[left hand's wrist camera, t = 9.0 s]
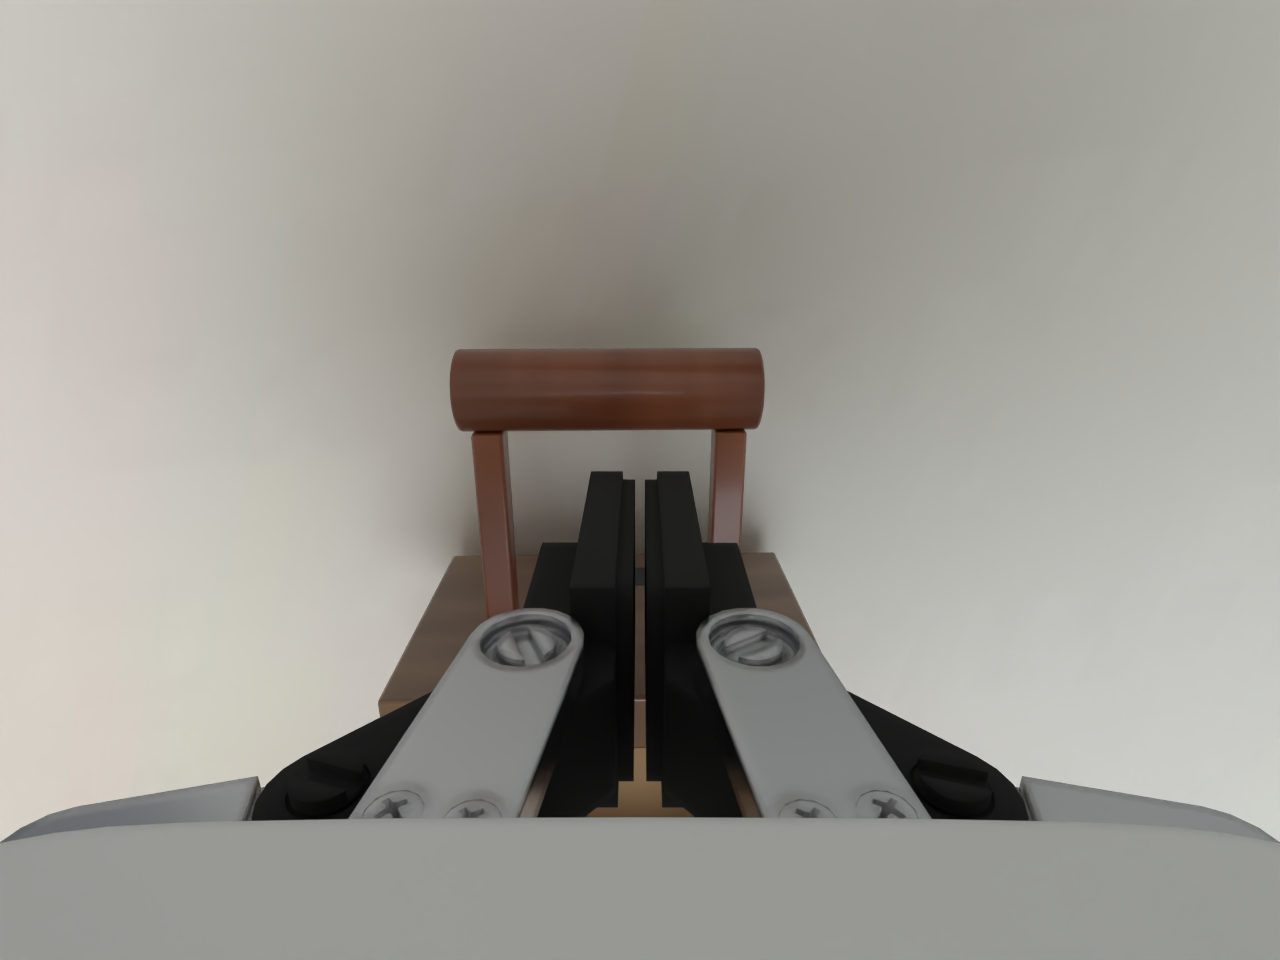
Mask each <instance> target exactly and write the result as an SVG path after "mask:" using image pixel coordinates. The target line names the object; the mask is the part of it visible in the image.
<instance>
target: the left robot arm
mask: <svg viewBox="0 0 1280 960" xmlns="http://www.w3.org/2000/svg"><path fill="white" fill-rule="evenodd" d="M634 712H635V480H623V471H591V475H590V481H589V486H588V491H587V497H586V502H585V507H584V513H583V518H582V523H581V529H580V534H579V539H578V543H543V544H542V546H541V549H540V553H539V556H538V559H537V563H536V566H535V569H534V573H533V576H532V580H531V583H530V586H529V590H528V593H527V597H526V600H525V603H524V607H523V609H517V610H511V611H507V612H504V613H501V614H499V615H496V616H493V617H491V618H490V619H488V620H486V621H485V622H483V623H481V624H480V625H479V626H478V627H477V628H476V629H475V630H474V631H473V632H472V633H471V635H470V636H469V638H468V639H467V641H466V642H465V644H464V645H463V647H462V648H461V650H460V651H459V653H458V654H457V656H456V657H455V659H454V660H453V662H452V663H451V665H450V666H449V668H448V669H447V671H446V672H445V674H444V675H443V677H442V678H441V680H440V681H439V683H438V684H437V686H436V687H435V689H434V690H433V691H432V692H430V693H428V694H426V695H424V696H422V697H420V698H418V699H416V700H414V701H412V702H410V703H408V704H406V705H404V706H402V707H400V708H398V709H396V710H394V711H392V712H390V713H388V714H386V715H384V716H382V717H380V718H378V719H376V720H374V721H372V722H371V723H369V724H367V725H365V726H363V727H361V728H359V729H357V730H355V731H353V732H351V733H349V734H347V735H345V736H343V737H341V738H339V739H337V740H335V741H333V742H331V743H329V744H327V745H325V746H323V747H321V748H319V749H317V750H315V751H313V752H311V753H309V754H307V755H305V756H303V757H302V758H300V759H299V760H297V761H295V762H294V763H292V764H291V765H289V766H287V767H286V768H284V769H283V770H282V771H281V772H279V773H278V774H277V775H276V776H275V777H274V778H273V779H272V780H271V781H270V782H269V783H268V784H267V785H266V786H265V787H263V788H261V787H260V783H259V779H258V776H256V777H250V778H244V779H238V780H232V781H226V782H220V783H214V784H209V785H203V786H197V787H191V788H185V789H179V790H173V791H167V792H161V793H155V794H149V795H143V796H137V797H131V798H125V799H119V800H113V801H108V802H102V803H96V804H90V805H84V806H78V807H74V808H70V809H67V810H63V811H60V812H56V813H52V814H49V815H47V816H45V817H43V818H41V819H39V820H37V821H35V822H32V823H30V824H28V825H26V826H24V827H22V828H20V829H19V830H17V831H16V832H14V833H13V834H12V835H10V836H9V837H7V838H6V839H4V840H3V841H1V842H0V960H1280V842H1279V841H1277V840H1276V839H1274V838H1273V837H1271V836H1270V835H1268V834H1267V833H1266V832H1264V831H1263V830H1261V829H1260V828H1258V827H1256V826H1254V825H1252V824H1250V823H1248V822H1245V821H1243V820H1241V819H1239V818H1237V817H1235V816H1233V815H1231V814H1228V813H1224V812H1220V811H1217V810H1213V809H1210V808H1206V807H1202V806H1196V805H1190V804H1184V803H1178V802H1172V801H1167V800H1161V799H1155V798H1149V797H1143V796H1137V795H1131V794H1125V793H1119V792H1113V791H1107V790H1101V789H1095V788H1089V787H1083V786H1077V785H1071V784H1066V783H1060V782H1054V781H1048V780H1042V779H1036V778H1030V777H1024V776H1022V779H1021V783H1020V787H1019V788H1017V787H1015V786H1014V785H1013V784H1012V783H1011V782H1010V781H1009V780H1008V779H1007V778H1006V777H1005V776H1004V775H1003V774H1002V773H1001V772H999V771H998V770H997V769H996V768H994V767H993V766H991V765H989V764H988V763H986V762H985V761H983V760H981V759H980V758H978V757H977V756H975V755H973V754H971V753H969V752H967V751H965V750H963V749H961V748H959V747H957V746H955V745H953V744H951V743H949V742H947V741H945V740H943V739H941V738H939V737H937V736H935V735H933V734H931V733H929V732H927V731H925V730H923V729H921V728H919V727H917V726H915V725H913V724H911V723H909V722H908V721H906V720H904V719H902V718H900V717H898V716H896V715H894V714H892V713H890V712H888V711H886V710H884V709H882V708H880V707H878V706H876V705H874V704H872V703H870V702H868V701H866V700H864V699H862V698H860V697H858V696H856V695H854V694H852V693H850V692H848V691H847V690H846V689H845V687H844V686H843V684H842V683H841V681H840V680H839V678H838V677H837V675H836V674H835V672H834V671H833V669H832V668H831V666H830V665H829V663H828V662H827V660H826V659H825V657H824V656H823V654H822V653H821V651H820V650H819V648H818V647H817V645H816V644H815V642H814V641H813V639H812V638H811V636H810V635H809V633H808V632H807V631H806V630H805V629H804V628H803V627H802V626H801V625H800V624H799V623H797V622H795V621H794V620H792V619H790V618H789V617H787V616H784V615H781V614H779V613H776V612H773V611H769V610H763V609H757V607H756V603H755V600H754V597H753V593H752V590H751V586H750V583H749V580H748V576H747V573H746V569H745V566H744V563H743V559H742V556H741V553H740V549H739V546H738V544H737V543H702V539H701V534H700V529H699V523H698V518H697V513H696V507H695V502H694V497H693V491H692V486H691V481H690V475H689V471H657V480H645V712H646V781H661V791H662V808H684V809H686V810H687V811H688V812H689V813H690V817H590V813H591V812H592V811H593V810H594V809H596V808H618V791H619V781H634Z"/></svg>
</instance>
